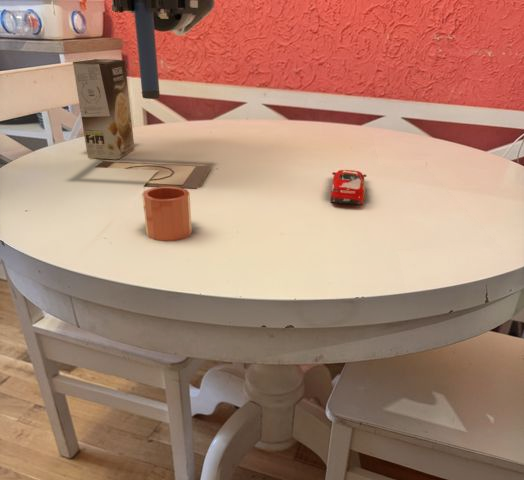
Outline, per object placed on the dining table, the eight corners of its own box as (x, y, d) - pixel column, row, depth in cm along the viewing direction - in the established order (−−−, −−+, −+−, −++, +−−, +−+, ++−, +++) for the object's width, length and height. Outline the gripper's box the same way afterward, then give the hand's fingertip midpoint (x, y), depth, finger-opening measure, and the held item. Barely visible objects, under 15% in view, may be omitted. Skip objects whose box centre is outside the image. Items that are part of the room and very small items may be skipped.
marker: (140, 98, 75) (128, -17, 67) (144, 95, 77) (134, -17, 69) (157, 99, 75) (148, -17, 67) (162, 96, 77) (153, -16, 69)
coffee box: (119, 160, 95) (106, 63, 86) (86, 158, 96) (70, 61, 86) (135, 149, 102) (125, 59, 93) (105, 147, 103) (93, 57, 94)
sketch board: (74, 185, 81) (73, 180, 80) (103, 164, 92) (102, 159, 92) (196, 192, 80) (196, 187, 79) (210, 169, 91) (210, 164, 91)
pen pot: (142, 243, 62) (137, 199, 59) (153, 227, 67) (149, 185, 64) (186, 245, 62) (183, 201, 59) (195, 229, 66) (193, 187, 63)
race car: (332, 183, 86) (334, 159, 84) (364, 186, 85) (367, 161, 83) (326, 207, 75) (329, 180, 73) (362, 210, 75) (366, 183, 72)
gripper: (121, -27, 79) (80, -36, 65) (208, -24, 79) (187, -33, 64) (127, 29, 83) (90, 32, 69) (209, 32, 83) (190, 36, 68)
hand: (137, 1), depth 67 cm, fingers closed on marker, 2 cm apart
